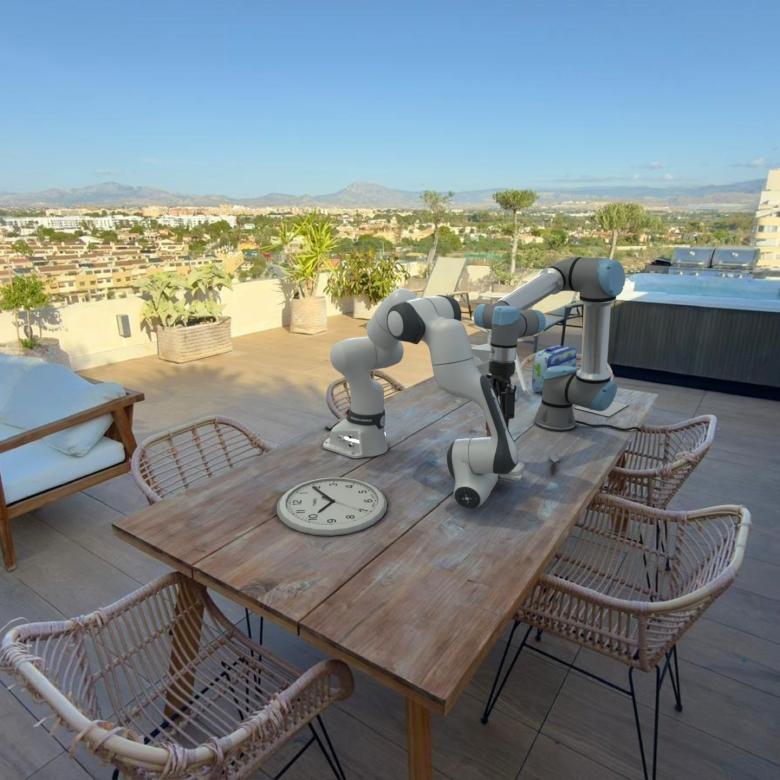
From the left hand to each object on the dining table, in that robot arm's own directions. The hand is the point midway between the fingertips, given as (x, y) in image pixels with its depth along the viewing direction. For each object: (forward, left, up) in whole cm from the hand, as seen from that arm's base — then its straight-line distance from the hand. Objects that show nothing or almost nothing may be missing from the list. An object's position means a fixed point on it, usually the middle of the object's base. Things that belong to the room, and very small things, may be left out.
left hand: (494, 455), depth 161 cm
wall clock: (-35, -39, -6) cm, 53 cm away
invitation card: (+26, +85, -6) cm, 89 cm away
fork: (+16, +14, -6) cm, 22 cm away
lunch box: (+3, +99, -6) cm, 100 cm away
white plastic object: (-27, +80, -6) cm, 85 cm away
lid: (0, -1, +11) cm, 12 cm away
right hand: (0, -1, +8) cm, 8 cm away
